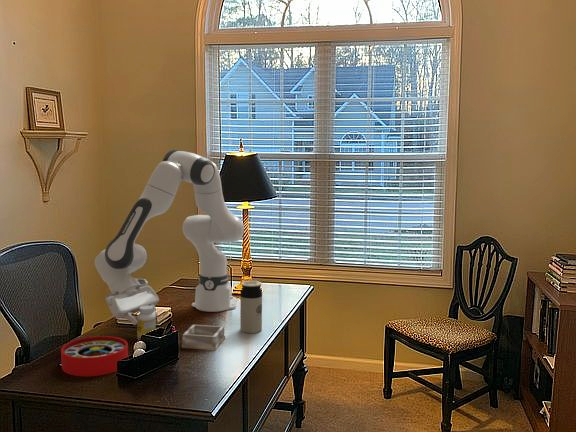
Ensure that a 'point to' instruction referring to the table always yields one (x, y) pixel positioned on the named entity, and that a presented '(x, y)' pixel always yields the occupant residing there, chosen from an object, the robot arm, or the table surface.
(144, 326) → the pill bottle
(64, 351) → the toy clock
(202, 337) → the grey square tray
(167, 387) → the table surface
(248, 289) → the travel mug
